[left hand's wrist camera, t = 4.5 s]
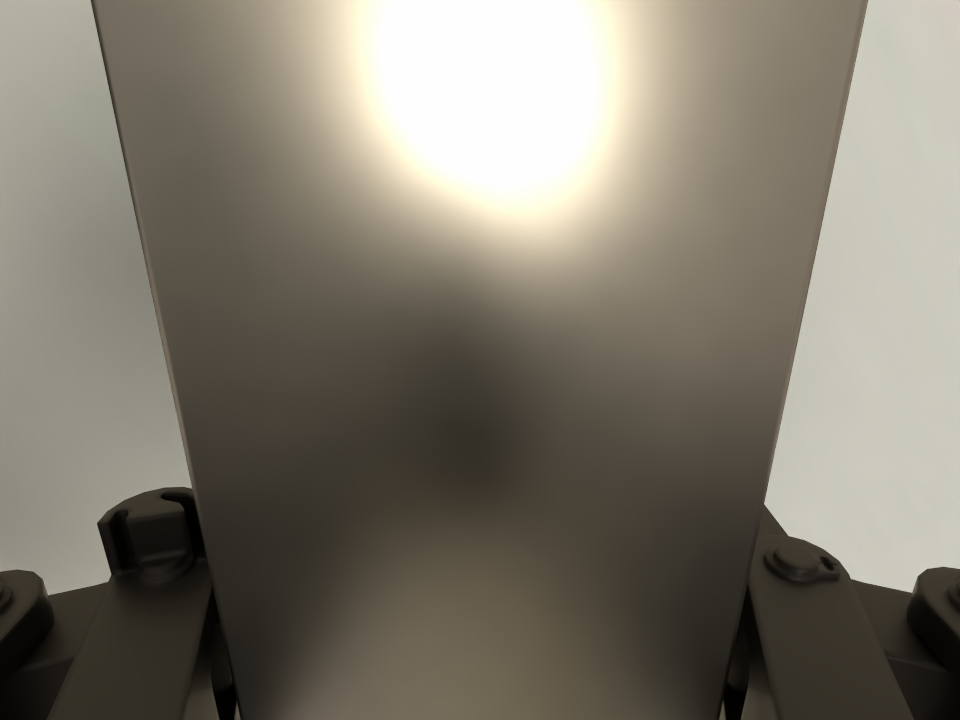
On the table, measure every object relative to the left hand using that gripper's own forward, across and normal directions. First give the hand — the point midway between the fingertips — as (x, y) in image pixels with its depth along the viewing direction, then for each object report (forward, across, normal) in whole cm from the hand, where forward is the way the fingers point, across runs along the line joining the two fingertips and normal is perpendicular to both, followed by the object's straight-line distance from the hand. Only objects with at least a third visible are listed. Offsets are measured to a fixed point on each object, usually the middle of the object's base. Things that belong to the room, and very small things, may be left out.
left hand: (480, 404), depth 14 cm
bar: (+1, 0, -8) cm, 8 cm away
